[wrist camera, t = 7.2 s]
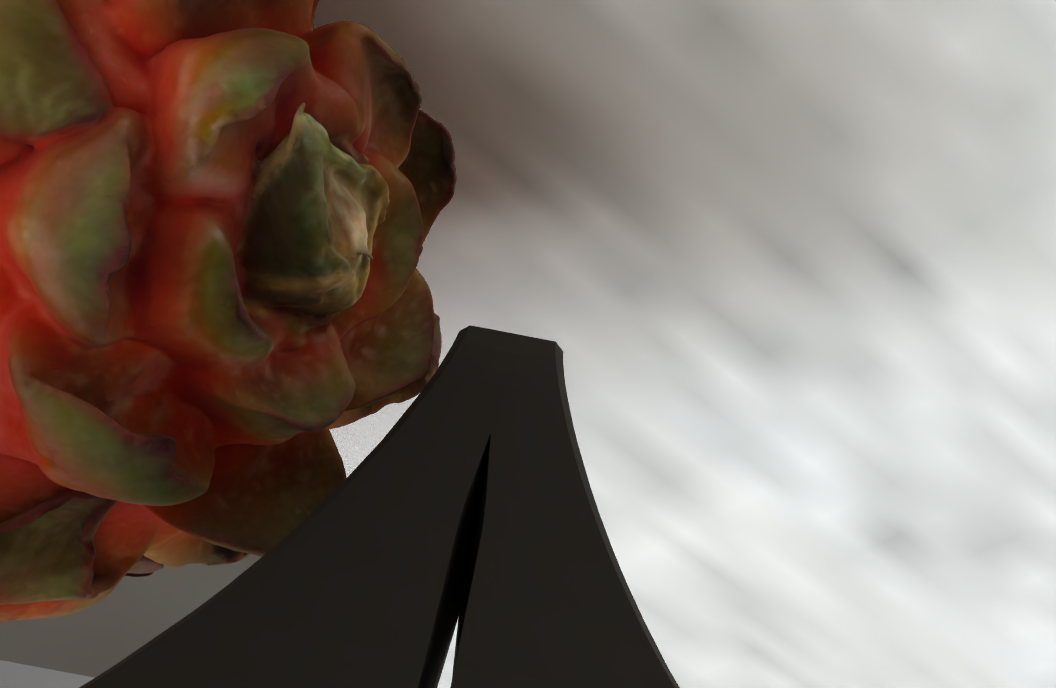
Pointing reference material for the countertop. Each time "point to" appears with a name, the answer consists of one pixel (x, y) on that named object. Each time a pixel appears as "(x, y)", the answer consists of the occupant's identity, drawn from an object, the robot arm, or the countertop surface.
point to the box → (107, 626)
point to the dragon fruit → (197, 278)
